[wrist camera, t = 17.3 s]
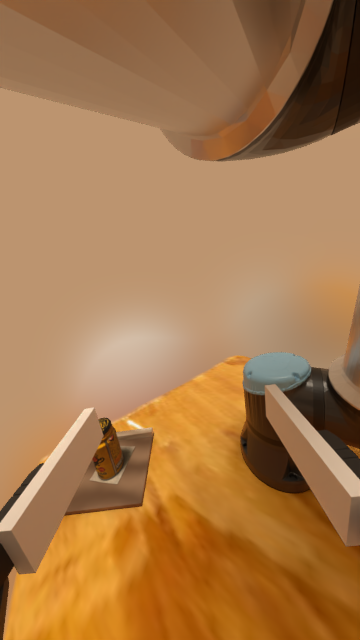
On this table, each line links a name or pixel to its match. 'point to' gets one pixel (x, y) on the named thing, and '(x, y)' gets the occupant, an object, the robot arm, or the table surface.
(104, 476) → the condiment
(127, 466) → the dock board
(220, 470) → the table surface
